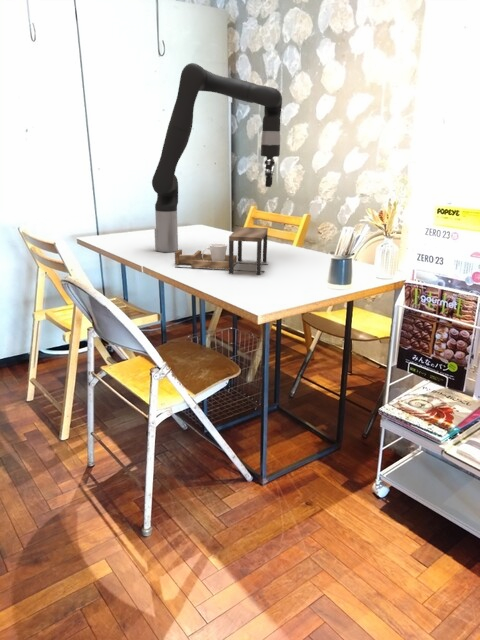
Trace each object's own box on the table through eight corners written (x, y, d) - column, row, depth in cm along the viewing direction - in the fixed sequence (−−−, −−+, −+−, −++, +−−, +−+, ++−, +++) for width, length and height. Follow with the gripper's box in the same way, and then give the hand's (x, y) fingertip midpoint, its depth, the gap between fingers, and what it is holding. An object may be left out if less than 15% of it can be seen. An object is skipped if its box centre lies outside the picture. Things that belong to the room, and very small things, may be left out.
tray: (172, 266, 189) (172, 254, 187) (181, 258, 201) (181, 247, 199) (231, 269, 186) (231, 257, 184) (236, 261, 198) (236, 250, 196)
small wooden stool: (228, 273, 182) (229, 236, 177) (238, 260, 202) (238, 226, 198) (260, 275, 180) (261, 237, 176) (266, 261, 201) (267, 228, 196)
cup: (229, 267, 191) (229, 246, 189) (204, 268, 188) (204, 247, 186) (224, 263, 198) (224, 242, 195) (199, 264, 195) (199, 243, 192)
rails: (175, 267, 189) (174, 267, 189) (183, 260, 201) (183, 259, 201) (264, 272, 184) (264, 271, 184) (267, 264, 196) (267, 264, 196)
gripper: (262, 143, 205) (260, 184, 210) (259, 143, 191) (258, 187, 197) (280, 144, 204) (278, 185, 209) (279, 144, 190) (277, 187, 196)
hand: (268, 186), depth 203 cm, fingers open, 8 cm apart
